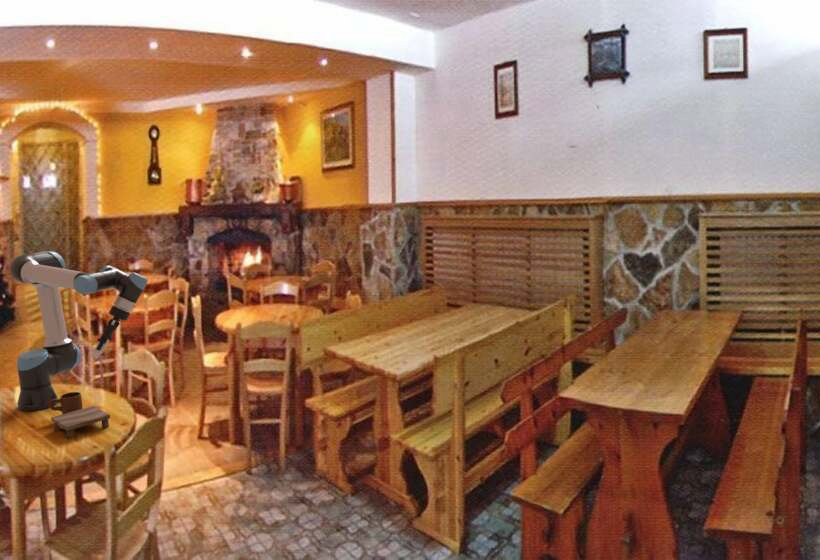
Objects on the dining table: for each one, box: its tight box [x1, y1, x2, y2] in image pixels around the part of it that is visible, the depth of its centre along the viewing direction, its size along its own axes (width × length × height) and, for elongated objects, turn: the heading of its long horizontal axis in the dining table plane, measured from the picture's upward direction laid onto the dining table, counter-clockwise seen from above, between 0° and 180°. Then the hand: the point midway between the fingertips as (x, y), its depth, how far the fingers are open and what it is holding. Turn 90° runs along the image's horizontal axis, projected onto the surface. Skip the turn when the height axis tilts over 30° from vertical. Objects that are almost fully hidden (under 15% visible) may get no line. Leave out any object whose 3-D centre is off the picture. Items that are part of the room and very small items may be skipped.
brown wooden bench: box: [50, 405, 111, 440], centre depth 252 cm, size 15×16×5 cm
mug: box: [48, 391, 84, 415], centre depth 262 cm, size 12×8×9 cm, turn 124°
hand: (96, 355), depth 264 cm, fingers open, 13 cm apart
